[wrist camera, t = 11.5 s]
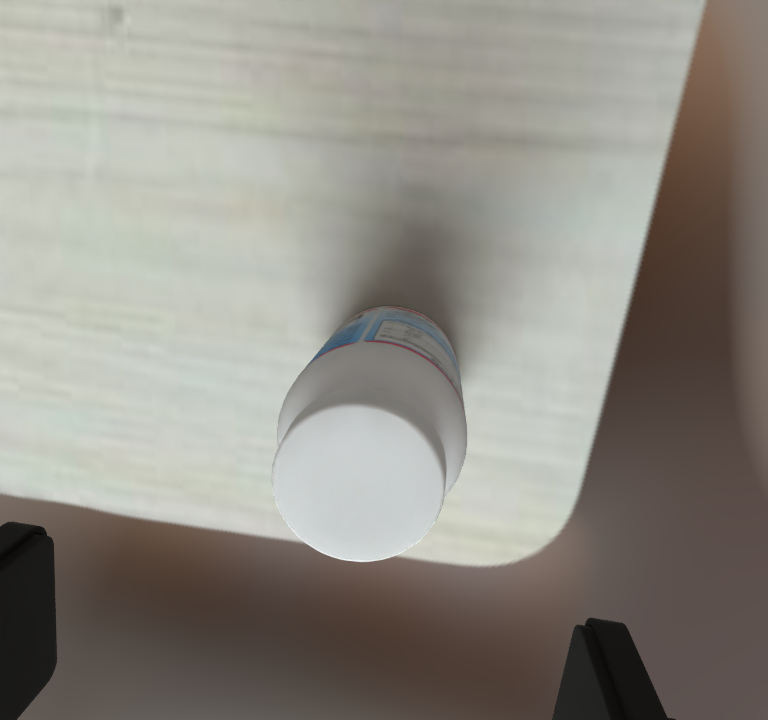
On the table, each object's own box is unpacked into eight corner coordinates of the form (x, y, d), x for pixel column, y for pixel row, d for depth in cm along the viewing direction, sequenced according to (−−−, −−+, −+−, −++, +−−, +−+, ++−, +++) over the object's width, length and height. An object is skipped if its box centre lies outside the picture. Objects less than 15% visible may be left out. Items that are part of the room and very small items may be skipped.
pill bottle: (342, 444, 27) (273, 600, 16) (311, 317, 26) (215, 396, 15) (471, 423, 26) (490, 575, 15) (447, 291, 25) (449, 355, 14)
